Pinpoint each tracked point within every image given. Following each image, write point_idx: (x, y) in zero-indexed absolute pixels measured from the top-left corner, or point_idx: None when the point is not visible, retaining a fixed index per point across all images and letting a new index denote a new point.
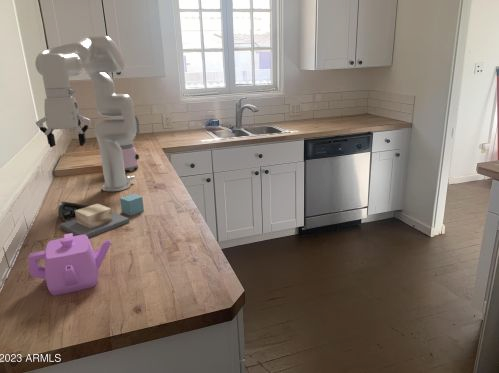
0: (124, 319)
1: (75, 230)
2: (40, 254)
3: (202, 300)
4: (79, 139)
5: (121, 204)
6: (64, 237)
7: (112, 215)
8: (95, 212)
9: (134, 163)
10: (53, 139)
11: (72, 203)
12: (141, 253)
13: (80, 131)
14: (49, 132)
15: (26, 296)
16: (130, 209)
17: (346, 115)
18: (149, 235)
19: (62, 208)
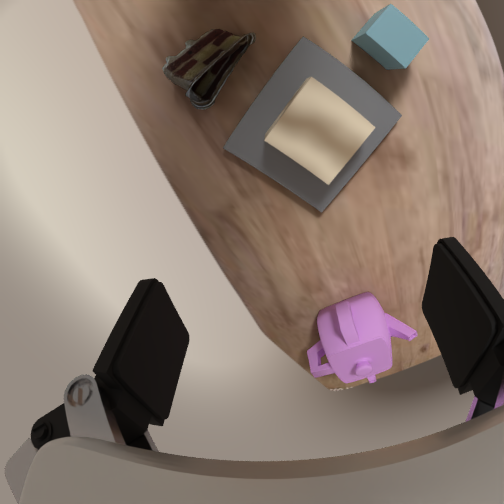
0: (412, 358)
1: (289, 184)
2: (328, 373)
3: None
4: (444, 352)
5: (361, 38)
6: (345, 340)
7: (350, 88)
8: (339, 155)
9: None
10: (152, 346)
11: (209, 67)
12: None
13: (488, 402)
14: (154, 448)
15: (307, 348)
16: (395, 68)
17: None
18: (447, 192)
19: (191, 94)
